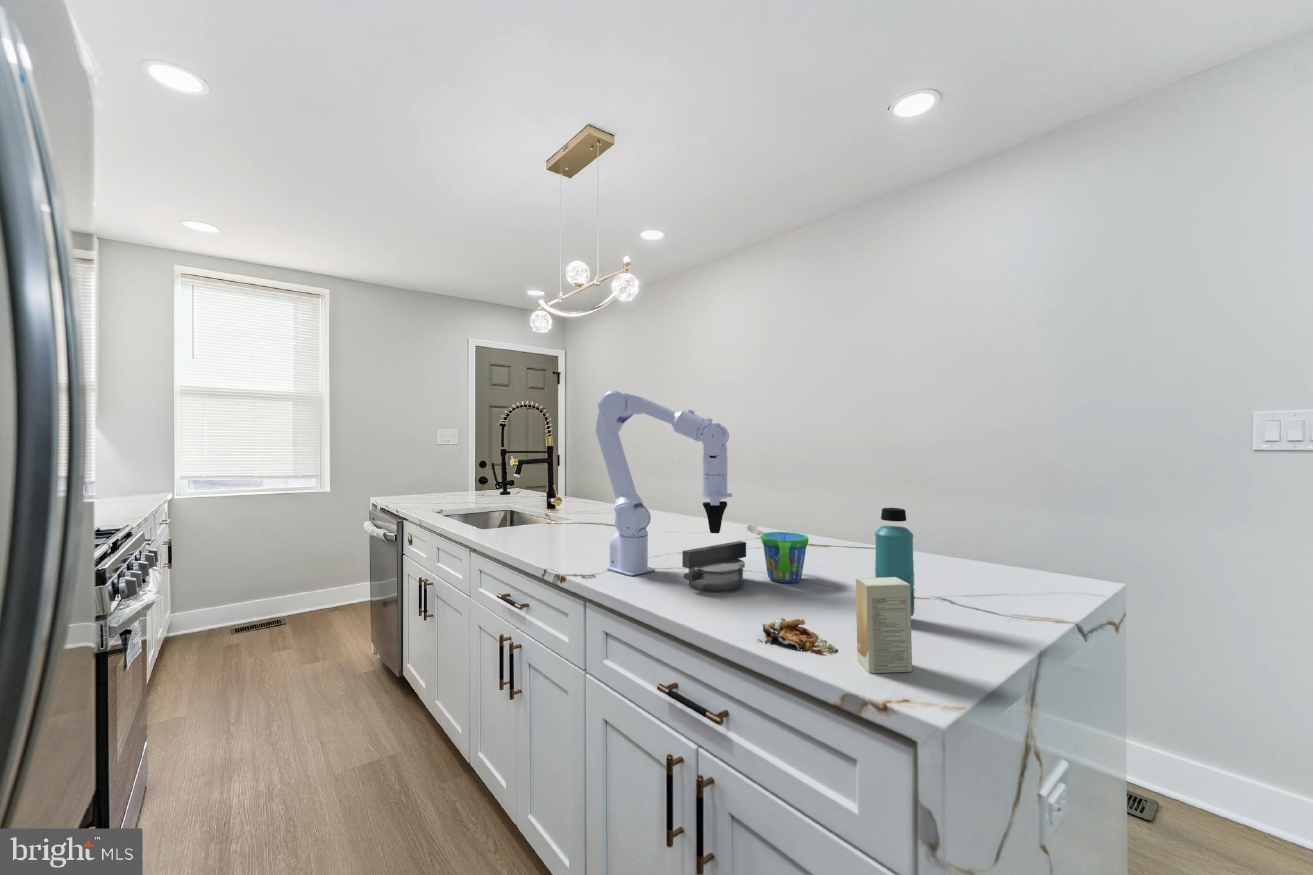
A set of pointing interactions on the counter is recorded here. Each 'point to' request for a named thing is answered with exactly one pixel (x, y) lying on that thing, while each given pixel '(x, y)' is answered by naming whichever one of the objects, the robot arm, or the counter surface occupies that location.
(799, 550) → the snack cup
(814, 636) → the brown lumpy piece
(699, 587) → the pot
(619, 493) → the robot arm
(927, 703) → the counter surface
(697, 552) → the lid
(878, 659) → the skincare box
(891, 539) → the beverage bottle
